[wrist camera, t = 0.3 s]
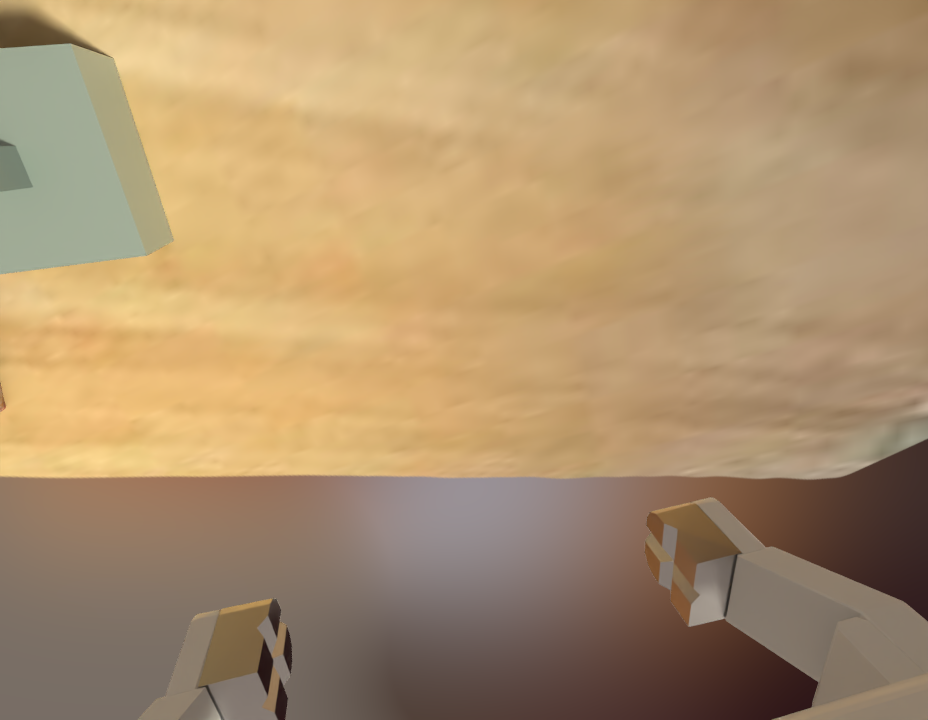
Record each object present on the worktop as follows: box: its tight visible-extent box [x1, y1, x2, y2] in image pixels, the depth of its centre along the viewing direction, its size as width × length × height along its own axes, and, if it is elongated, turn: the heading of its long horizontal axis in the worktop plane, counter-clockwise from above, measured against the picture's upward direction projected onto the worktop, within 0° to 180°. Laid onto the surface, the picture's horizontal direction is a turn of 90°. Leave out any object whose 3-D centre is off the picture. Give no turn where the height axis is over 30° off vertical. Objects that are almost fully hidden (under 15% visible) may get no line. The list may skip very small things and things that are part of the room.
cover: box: [0, 43, 174, 274], centre depth 40 cm, size 16×16×11 cm
